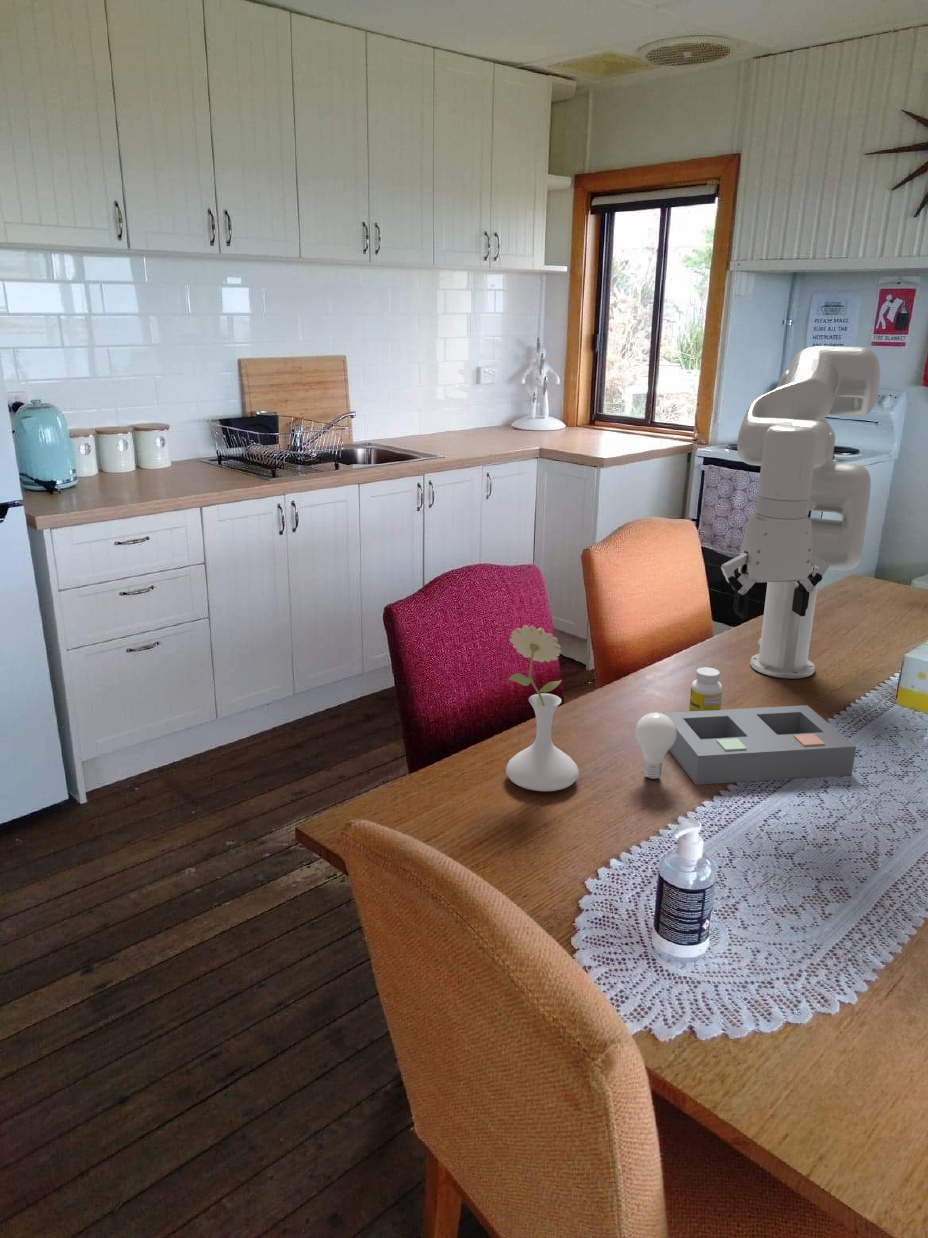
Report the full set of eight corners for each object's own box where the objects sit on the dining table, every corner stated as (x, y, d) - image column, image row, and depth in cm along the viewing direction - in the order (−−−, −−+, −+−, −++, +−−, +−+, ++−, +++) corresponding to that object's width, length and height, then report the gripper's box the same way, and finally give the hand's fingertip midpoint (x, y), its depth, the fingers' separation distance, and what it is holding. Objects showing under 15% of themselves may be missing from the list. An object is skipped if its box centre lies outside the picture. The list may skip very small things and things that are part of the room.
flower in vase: (593, 780, 145) (601, 630, 137) (546, 807, 138) (552, 649, 130) (530, 753, 154) (534, 610, 146) (482, 776, 146) (485, 627, 138)
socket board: (661, 739, 159) (663, 711, 158) (803, 731, 163) (807, 703, 161) (695, 784, 144) (698, 754, 143) (851, 774, 148) (856, 744, 146)
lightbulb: (675, 772, 148) (680, 709, 145) (669, 790, 142) (675, 725, 139) (635, 765, 150) (639, 703, 147) (628, 783, 144) (633, 719, 141)
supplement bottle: (684, 716, 169) (688, 665, 165) (713, 715, 169) (718, 665, 166) (693, 728, 163) (698, 677, 160) (723, 728, 164) (728, 676, 161)
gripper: (822, 502, 146) (809, 605, 151) (718, 504, 143) (708, 609, 149) (848, 512, 139) (833, 620, 144) (738, 514, 136) (727, 625, 142)
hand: (769, 615), depth 146 cm, fingers open, 9 cm apart
